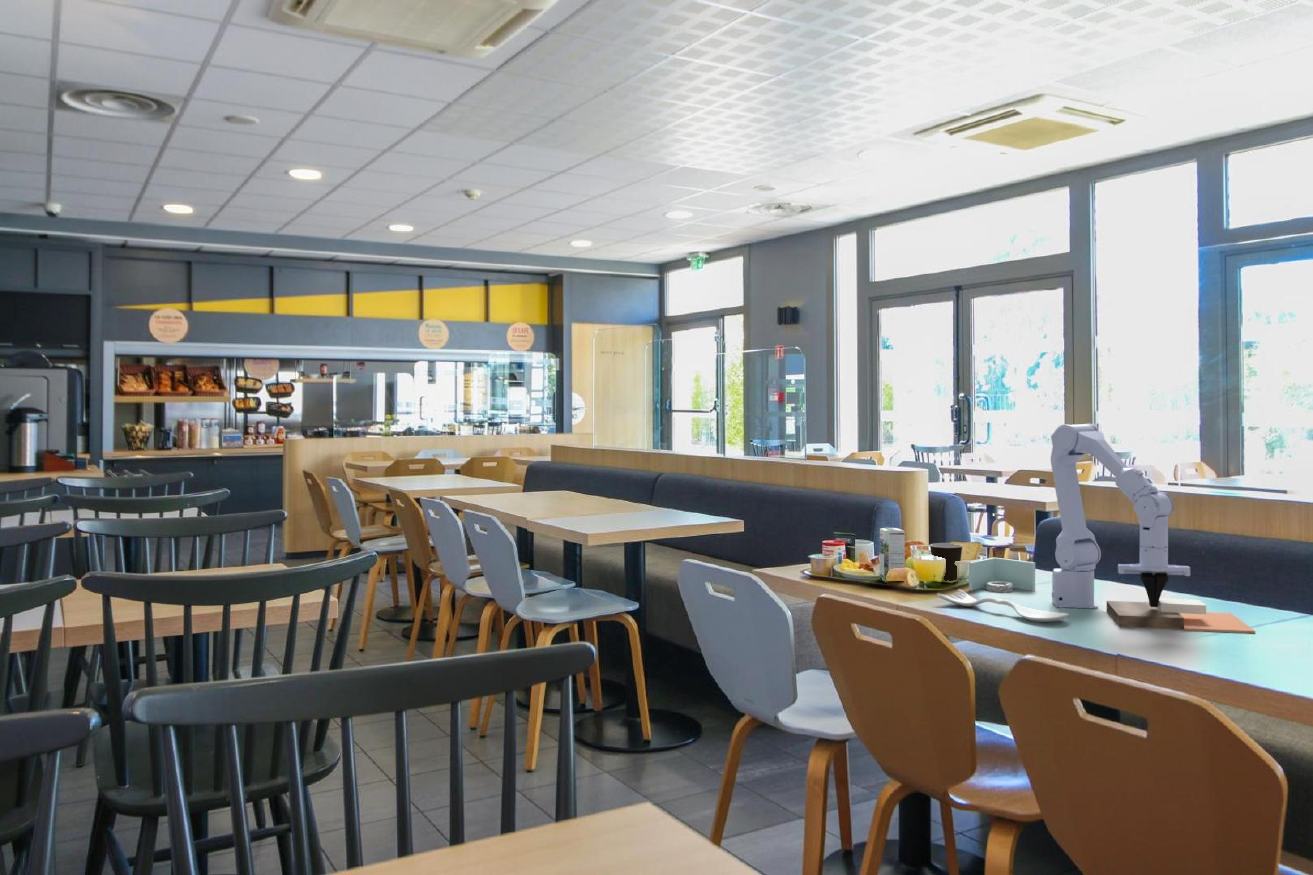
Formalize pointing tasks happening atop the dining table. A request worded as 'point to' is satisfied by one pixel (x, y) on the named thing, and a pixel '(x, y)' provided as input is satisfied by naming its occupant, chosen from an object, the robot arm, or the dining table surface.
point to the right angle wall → (1001, 574)
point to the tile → (1181, 606)
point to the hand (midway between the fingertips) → (1153, 606)
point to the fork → (1025, 612)
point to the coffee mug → (948, 557)
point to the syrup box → (891, 550)
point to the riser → (1143, 615)
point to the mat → (1215, 623)
